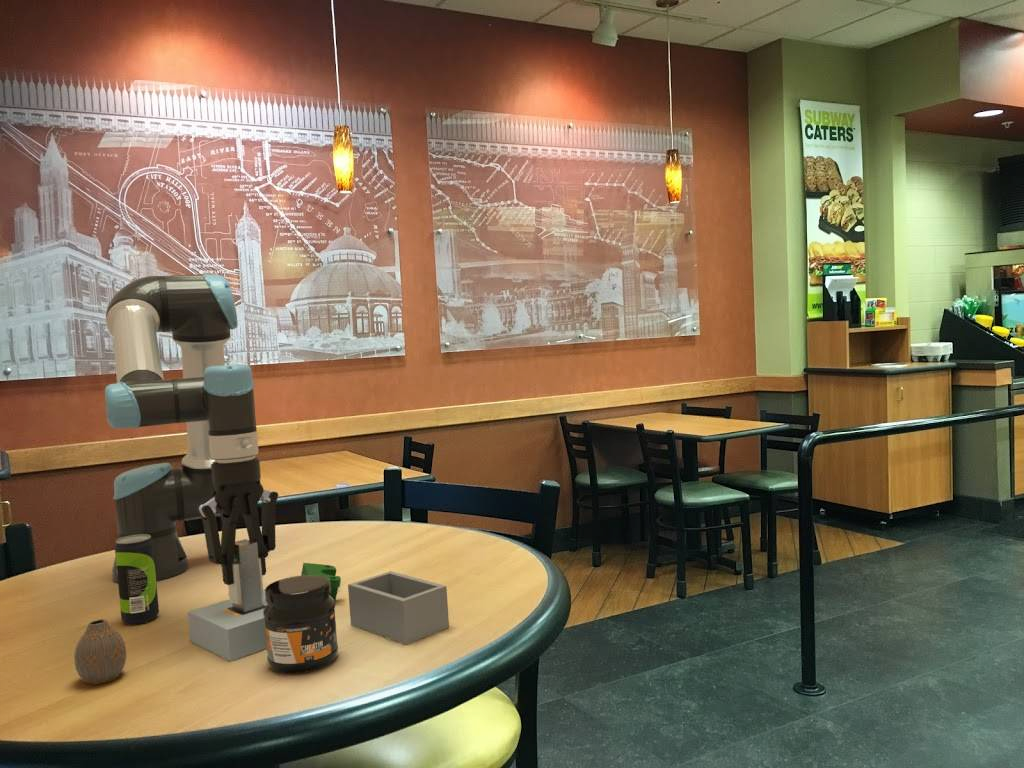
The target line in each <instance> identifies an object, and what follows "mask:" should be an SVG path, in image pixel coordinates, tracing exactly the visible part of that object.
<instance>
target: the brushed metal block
mask: <svg viewBox="0 0 1024 768" xmlns="http://www.w3.org/2000/svg"><path fill="white" fill-rule="evenodd" d="M234 563H236V564H239V576H240V588H241V600H242V603H241V604H238V605H237V604H235V603H232V605H233V611H234V612H236V613H238V614H241V615H245V614H248V613H251V612H254V611H257V610H261V609H263V607H262V595H261V583H260V571H259V559H258V547H257V542H254V541H250V540H249V539H246V538H245V539H240V540H237V541H236V540H235V551H234Z"/></svg>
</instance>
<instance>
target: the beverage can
mask: <svg viewBox="0 0 1024 768" xmlns="http://www.w3.org/2000/svg"><path fill="white" fill-rule="evenodd" d="M150 538H151V536H150V535H147V534H139V535H131V536H126V537H122V538H119V539H118V538H117V539H115V544H116V545H115V546H114V554H115V555H114V556H116V566H117V577H118V582H117V584H118V585H117V586H118V587H117V588H118V597H119V607H120V617H121V618H120V619H121V621H122V622H124V624H126V625H129V624H130V625H131V626H133V625H135V624H136V625H141V624H146V623H150V622H152V621H154V620H155V619H156V618H157V617H158V615H159V612H160V609H159V607H160V605H159V596H158V587H157V580H156V573H155V561H154V550H153V541H152V540H151V539H150Z"/></svg>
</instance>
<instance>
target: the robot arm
mask: <svg viewBox="0 0 1024 768" xmlns="http://www.w3.org/2000/svg"><path fill="white" fill-rule="evenodd" d="M234 299H235V298H234V295H233V291H232V288H231V285H230V283H229V281H228V279H227V277H224V276H222V275H218V274H205V273H203V274H201V273H199V274H178V275H175V274H174V275H149V276H145V277H140V278H138V279H135V280H133V281H130V282H129V283H128V284H126V285H125V286H124V287H122V288H121V289H119V290H118V291H117V293H115V294H114V296H113V297H112V298H111V300H110V301H109V303H108V305H107V308H106V312H105V321H106V327H107V331H108V332H109V333H110V334H111V336H112V337H113V339H112V340H113V349H114V350H113V351H114V362H115V373H116V374H115V375H116V383H112V384H111V383H110V384H108V385H106V386H105V388H104V398H105V409H106V420H107V424H108V426H110V427H111V428H112V429H130V428H131V429H137V428H144V427H150V426H151V427H152V426H160V425H170V424H171V425H172V424H182V423H185V424H186V435H187V436H186V437H187V449H188V452H187V454H186V455H184V456H183V457H182V459H181V467H178V468H173V466H172V465H171V463H169V462H162V463H153V464H147V465H144V466H141V467H140V466H139V467H136V468H134V469H130V470H127V471H124V472H122V473H120V474H119V475H118V476H116V477H115V479H114V482H113V491H114V493H113V496H112V497H113V498H112V499H113V500H114V501H115V502H114V503H115V516H116V527H117V537H118V538H117V539H119V538H122V537H126V536H131V535H139V534H147V535H150V536H151V538H150V539H151V540H152V541H153V550H154V561H155V573H156V581H160V580H164V579H168V578H172V577H174V576H177V575H180V574H183V573H184V572H185V571H187V570H188V569H189V560H188V559H189V558H188V555H187V553H186V551H185V549H184V547H183V544H182V542H181V540H180V538H179V536H178V532H177V530H178V529H177V523H178V522H184V521H191V520H192V521H193V520H198V519H202V525H203V532H204V538H205V542H206V549H207V555H208V560H209V562H210V563H213V564H216V565H220V566H221V571H222V572H221V573H222V582H223V583H224V585H227V586H228V596H229V599H230V602H232V603H235V604H237V605H238V604H241V603H242V600H241V588H240V576H239V564H236V563H234V551H235V542H236V534H237V523H238V522H239V517H240V516H242V518H243V519H244V524H245V527H246V531H247V536H248V540H250V541H254V542H257V547H258V559H259V571H260V583H261V595H262V597H264V593H263V589H264V583H263V576H265V575H266V573H267V565H266V558H267V557H268V556H269V553H270V552H271V551H275V549H276V504H277V501H278V499H279V492H277V491H272V490H268V489H267V490H266V489H264V487H263V485H262V483H261V465H260V462H261V461H260V459H259V458H258V457H256V456H257V455H258V454H259V442H258V431H257V429H258V428H257V419H256V403H255V390H254V388H255V382H254V379H253V371H252V368H251V366H250V365H249V364H246V363H242V364H240V363H239V364H238V363H237V364H225V347H224V346H225V344H227V342H228V341H230V340H231V330H233V331H234V330H235V329H237V328H238V315H237V309H236V304H235V300H234ZM167 332H168V333H171V334H172V341H173V342H174V343H176V344H177V345H178V346H179V347H180V350H181V351H180V352H181V353H180V354H181V363H182V365H181V368H182V378H172V379H165V378H164V373H163V367H162V366H163V365H162V360H161V354H160V348H159V341H158V335H157V333H167ZM259 501H261V526H260V521H259V512H258V508H257V507H258V504H259ZM217 517H221V518H220V519H221V522H222V523H221V524H222V526H221V537H220V533H219V526H218V521H217ZM220 538H221V539H220ZM114 556H115V555H114ZM111 569H112V573H111V574H112V580H113V582H116V583H118V577H117V566H116V556H115V557H114V560H113V565H112V568H111ZM229 599H228V600H229Z"/></svg>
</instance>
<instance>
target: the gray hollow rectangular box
mask: <svg viewBox="0 0 1024 768" xmlns="http://www.w3.org/2000/svg"><path fill="white" fill-rule="evenodd" d="M447 587H448V586H447V585H444V584H440V583H436V582H433V581H429V580H425V579H422V578H418V577H414V576H410V575H408V574H403V573H401V572H395V571H392V570H389V571H387V572H383V573H380V574H377V575H374V576H371V577H370V576H369V577H368V578H364V579H361V580H358V581H355V582H352V583H348V584H347V588H348V591H347V592H348V601H349V602H348V603H349V605H348V606H349V615H350V616H349V617H350V625H351V626H352V627H356V628H359V629H361V630H364V631H367V632H370V633H373V634H375V635H377V636H381V637H383V638H385V639H389V640H392V641H395V642H397V643H400V644H403V645H406V646H407V645H410V644H412V643H414V642H418V641H419V640H422V639H424V638H427V637H429V636H432V635H434V634H437V633H439V632H441V631H444V630H447V629H449V628H450V621H449V620H450V618H449V605H448V592H447V591H448V590H447Z"/></svg>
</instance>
